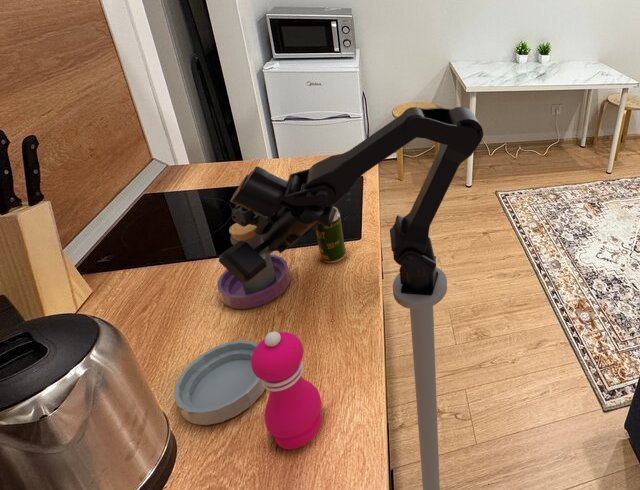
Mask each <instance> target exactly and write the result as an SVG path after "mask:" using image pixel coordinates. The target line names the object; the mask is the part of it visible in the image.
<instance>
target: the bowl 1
mask: <svg viewBox="0 0 640 490" xmlns="http://www.w3.org/2000/svg"><path fill="white" fill-rule="evenodd" d="M270 256H271V260H272V264H273V268H274V271H275V275H276V280H277V281H276V282H275V283H274V284H272V285H271V286H269V287H268V288H266V289H264V290H262V291H259V292H256V293H253V294H246V293H245V291H244V289H243V286H242V283H241V282H240V281H239V280H238V279H237V278H236V277H235V276H233V275H232V274H231V273H230V272H229V271H228V270H227V269H226V268H225V270H224V271H223V272H222V273H221V274H220V276H219V277H218V280H217V283H216V285H217V291H218V294H219V296H220V299H221V301H222V303H223V304H224V305H225V306H227V307H229V308H231V309H238V310H246V309H252V308H253V309H254V308H257V307H259V306H262V305H266V304H267V303H269V302H271V301H273V300H275V299H276V298H278V297H279V296H280V295H282V293H284V292H285V291H286V289H287V288H288V287H289V284H290V281H291V275H290V274H291V273H290V269H289V266H288V262H287V261H286V259H284V258H283V257H282V256H280V255H277V254H270Z"/></svg>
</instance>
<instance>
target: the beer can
mask: <svg viewBox="0 0 640 490" xmlns="http://www.w3.org/2000/svg"><path fill="white" fill-rule="evenodd" d="M333 207H334V208H335V210H336V213H335V216H334V219H333V222H332V225H331V227H327V226H324V225H322V224H319V225H318V226H316V227H315V228H314V231H315V235H316V236H315V237H316V241H317V246H318V251H319V256H320V259H321V260H322V261H323V262H324V263H326V264H335V263H338V262H340V261H342V260H343V259H344V258H345V255H346V253H347V249H346V243H345V237H344V232H343V225H342V218H341V213H340V211H339V208H337V207H336V206H333Z"/></svg>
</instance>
